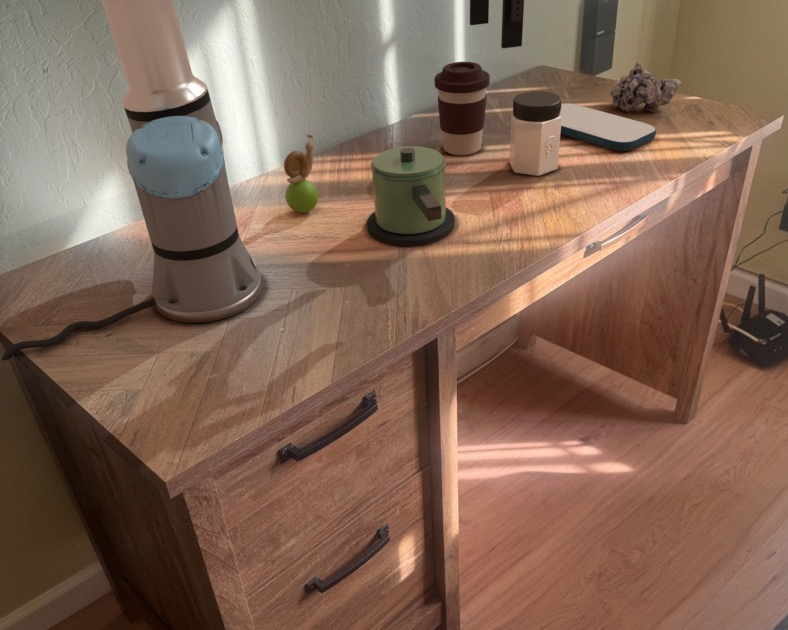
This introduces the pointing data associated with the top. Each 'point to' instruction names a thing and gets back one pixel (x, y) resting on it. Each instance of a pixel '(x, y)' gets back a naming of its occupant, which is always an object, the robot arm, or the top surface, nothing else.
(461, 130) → the coffee cup
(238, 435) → the top surface
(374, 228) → the trivet
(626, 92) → the mineral specimen
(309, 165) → the snail figurine
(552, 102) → the jar
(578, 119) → the external hard drive
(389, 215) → the pot
